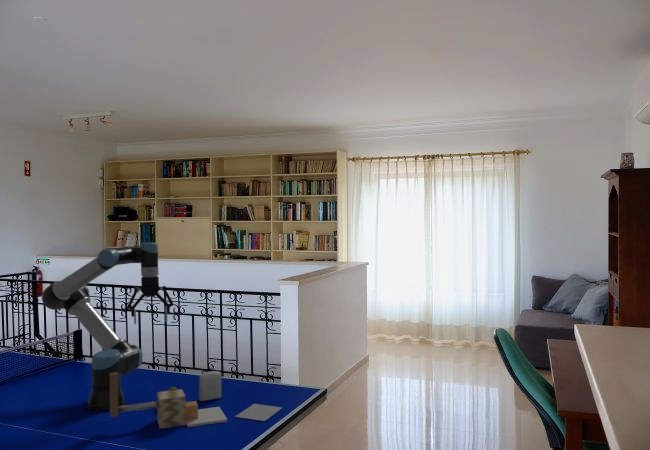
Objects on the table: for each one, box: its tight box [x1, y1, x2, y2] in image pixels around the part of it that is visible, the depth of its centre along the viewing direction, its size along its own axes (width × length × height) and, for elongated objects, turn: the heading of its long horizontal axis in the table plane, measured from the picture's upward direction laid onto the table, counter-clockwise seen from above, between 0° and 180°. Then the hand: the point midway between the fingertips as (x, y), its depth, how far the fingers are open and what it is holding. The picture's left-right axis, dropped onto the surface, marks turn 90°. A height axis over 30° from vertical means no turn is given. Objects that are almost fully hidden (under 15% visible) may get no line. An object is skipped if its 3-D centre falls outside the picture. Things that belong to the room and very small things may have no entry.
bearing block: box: [156, 388, 187, 429], centre depth 220 cm, size 10×10×11 cm
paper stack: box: [234, 403, 283, 422], centre depth 237 cm, size 23×25×1 cm
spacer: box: [186, 400, 199, 420], centre depth 223 cm, size 5×5×6 cm
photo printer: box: [198, 370, 222, 402], centre depth 249 cm, size 10×4×12 cm, turn 123°
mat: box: [185, 406, 228, 428], centre depth 226 cm, size 16×16×1 cm
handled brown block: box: [109, 372, 159, 418], centre depth 217 cm, size 26×4×16 cm, turn 112°
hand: (150, 322), depth 250 cm, fingers open, 13 cm apart
